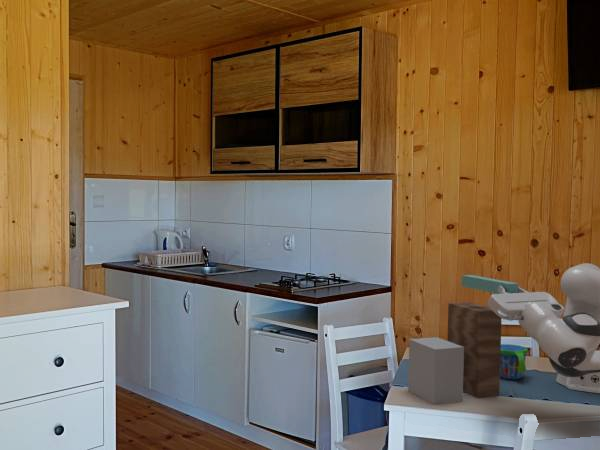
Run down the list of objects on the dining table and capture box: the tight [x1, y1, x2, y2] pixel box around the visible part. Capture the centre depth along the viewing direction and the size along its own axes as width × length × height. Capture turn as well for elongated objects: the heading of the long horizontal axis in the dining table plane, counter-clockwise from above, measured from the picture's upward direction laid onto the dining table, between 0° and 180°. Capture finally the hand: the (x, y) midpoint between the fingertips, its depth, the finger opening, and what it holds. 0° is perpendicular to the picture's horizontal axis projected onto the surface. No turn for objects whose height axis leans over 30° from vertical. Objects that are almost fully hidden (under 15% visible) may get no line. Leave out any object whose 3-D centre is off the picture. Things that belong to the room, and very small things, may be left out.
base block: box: [407, 336, 464, 405], centre depth 190 cm, size 14×10×16 cm
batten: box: [461, 274, 520, 294], centre depth 190 cm, size 22×4×4 cm, turn 22°
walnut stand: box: [446, 301, 503, 399], centre depth 197 cm, size 16×8×26 cm, turn 21°
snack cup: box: [500, 343, 529, 381], centre depth 212 cm, size 16×10×10 cm
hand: (507, 287), depth 182 cm, fingers closed on batten, 3 cm apart
